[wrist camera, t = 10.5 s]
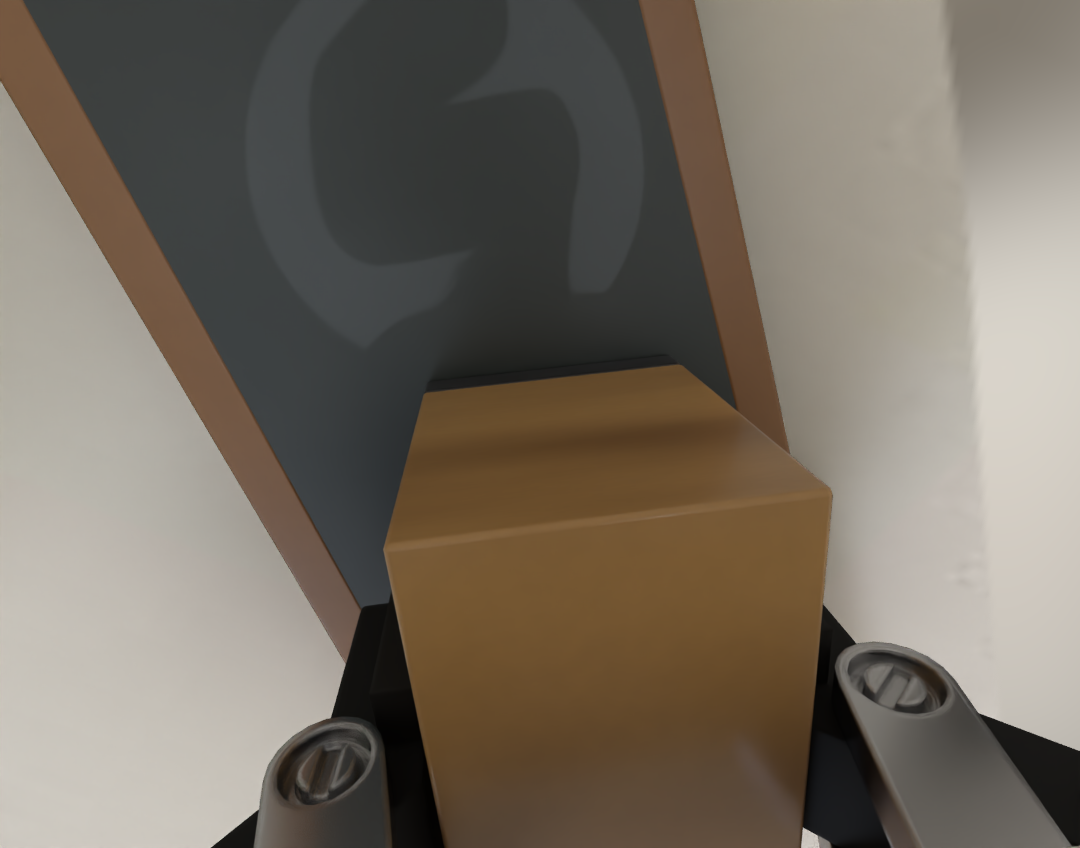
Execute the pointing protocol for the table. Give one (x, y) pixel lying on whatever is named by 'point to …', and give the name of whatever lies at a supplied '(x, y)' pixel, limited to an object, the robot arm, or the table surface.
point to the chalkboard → (391, 221)
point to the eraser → (608, 611)
